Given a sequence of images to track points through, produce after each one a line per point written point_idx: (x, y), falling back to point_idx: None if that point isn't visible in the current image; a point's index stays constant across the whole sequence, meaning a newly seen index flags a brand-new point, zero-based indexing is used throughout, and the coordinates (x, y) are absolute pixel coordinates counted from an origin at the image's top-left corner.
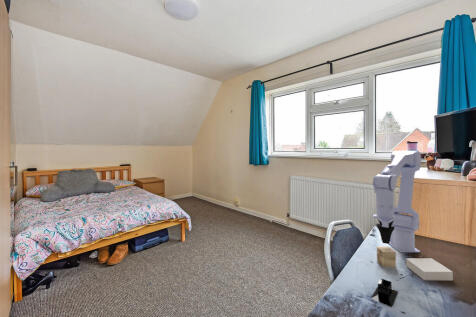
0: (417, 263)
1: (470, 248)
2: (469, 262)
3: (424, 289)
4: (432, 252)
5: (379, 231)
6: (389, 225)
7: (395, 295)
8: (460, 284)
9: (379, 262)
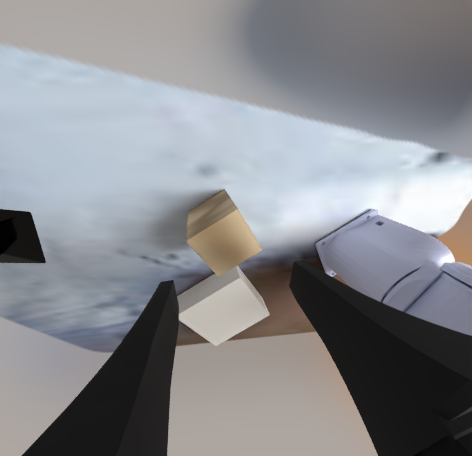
0: (220, 300)
1: None
2: (304, 331)
3: (125, 301)
4: None
5: (74, 400)
6: (345, 367)
7: (3, 260)
8: None
9: (210, 199)
